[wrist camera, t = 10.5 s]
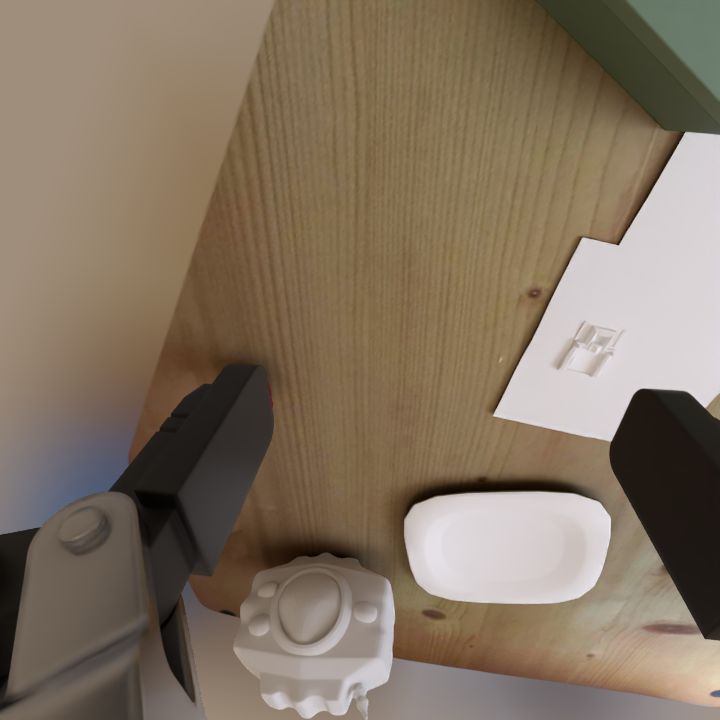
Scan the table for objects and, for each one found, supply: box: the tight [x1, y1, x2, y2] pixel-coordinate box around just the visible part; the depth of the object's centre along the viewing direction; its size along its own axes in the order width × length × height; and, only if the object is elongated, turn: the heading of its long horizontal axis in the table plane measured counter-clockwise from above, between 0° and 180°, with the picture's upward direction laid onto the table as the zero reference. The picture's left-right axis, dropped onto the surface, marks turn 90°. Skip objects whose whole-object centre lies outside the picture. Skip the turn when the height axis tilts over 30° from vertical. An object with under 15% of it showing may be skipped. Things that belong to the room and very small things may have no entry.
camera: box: [233, 553, 395, 720], centre depth 45 cm, size 11×18×16 cm, turn 98°
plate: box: [404, 490, 611, 604], centre depth 45 cm, size 22×22×2 cm
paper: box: [493, 132, 720, 442], centre depth 28 cm, size 25×17×1 cm
